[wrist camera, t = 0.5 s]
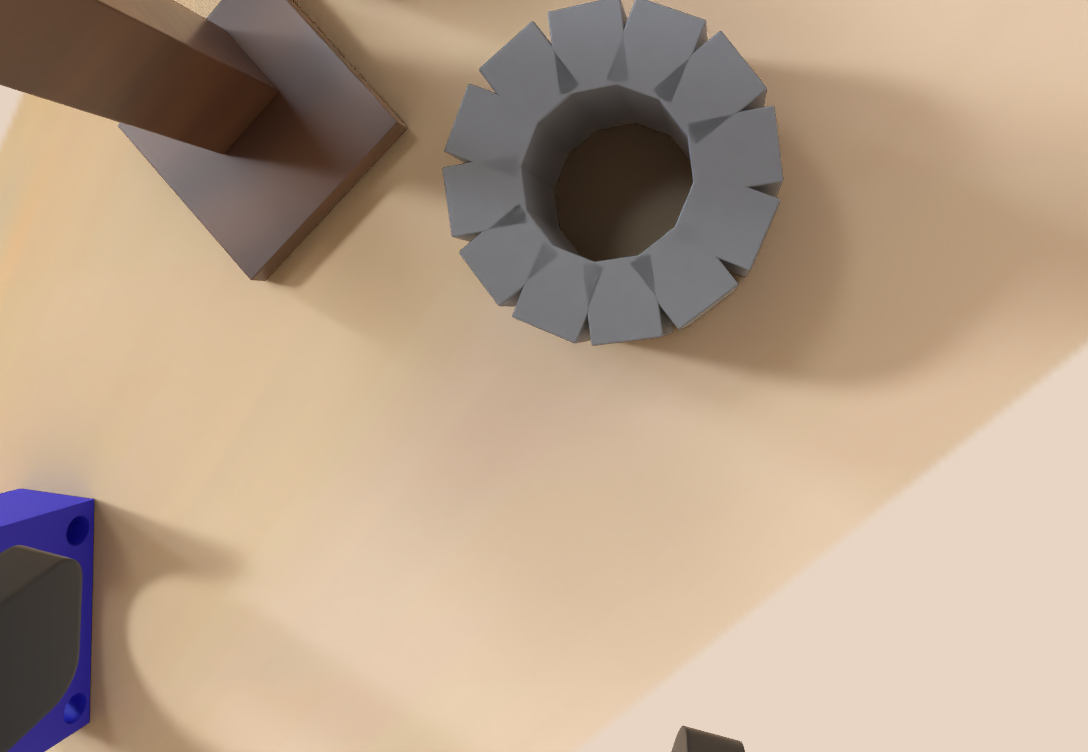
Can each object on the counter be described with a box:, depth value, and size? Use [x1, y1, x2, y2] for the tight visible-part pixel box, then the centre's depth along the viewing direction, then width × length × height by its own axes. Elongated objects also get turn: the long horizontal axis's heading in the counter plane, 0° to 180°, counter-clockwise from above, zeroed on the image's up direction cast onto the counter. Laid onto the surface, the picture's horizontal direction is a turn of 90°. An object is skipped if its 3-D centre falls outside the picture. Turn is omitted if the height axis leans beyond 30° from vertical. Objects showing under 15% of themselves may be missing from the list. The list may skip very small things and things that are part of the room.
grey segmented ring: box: [443, 0, 783, 346], centre depth 32 cm, size 12×12×6 cm
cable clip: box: [0, 489, 94, 752], centre depth 40 cm, size 12×4×6 cm, turn 176°
